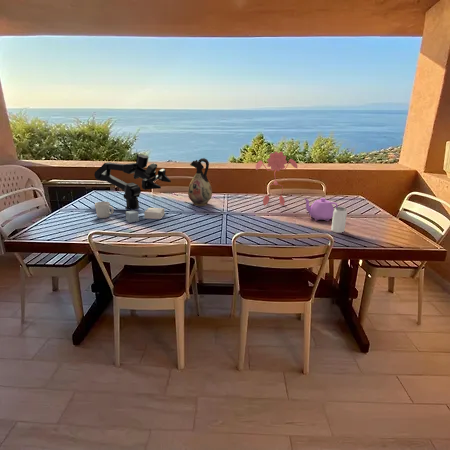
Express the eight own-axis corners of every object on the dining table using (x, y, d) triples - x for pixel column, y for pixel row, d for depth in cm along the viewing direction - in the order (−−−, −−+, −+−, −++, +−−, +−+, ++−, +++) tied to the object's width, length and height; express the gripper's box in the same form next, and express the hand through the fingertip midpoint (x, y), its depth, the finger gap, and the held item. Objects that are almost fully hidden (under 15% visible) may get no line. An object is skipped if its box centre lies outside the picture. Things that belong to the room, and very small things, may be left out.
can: (329, 229, 180) (331, 207, 177) (341, 229, 181) (344, 206, 177) (333, 233, 174) (336, 210, 171) (346, 233, 175) (349, 210, 171)
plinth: (144, 218, 193) (144, 211, 192) (149, 214, 201) (149, 207, 200) (160, 219, 192) (160, 212, 191) (164, 214, 201) (164, 208, 200)
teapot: (303, 221, 192) (305, 200, 189) (300, 214, 206) (302, 194, 202) (339, 223, 191) (342, 201, 187) (334, 216, 204) (337, 195, 200)
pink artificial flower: (253, 203, 230) (255, 149, 218) (292, 204, 229) (296, 150, 218) (254, 209, 215) (257, 152, 203) (296, 210, 215) (301, 153, 203)
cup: (118, 216, 195) (117, 202, 193) (109, 220, 188) (108, 206, 186) (102, 214, 198) (101, 200, 196) (92, 218, 191) (91, 204, 189)
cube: (138, 221, 188) (138, 212, 187) (130, 222, 185) (129, 213, 184) (134, 218, 192) (134, 210, 190) (126, 220, 189) (125, 211, 187)
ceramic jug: (183, 205, 220) (182, 158, 210) (194, 200, 233) (194, 155, 224) (208, 209, 214) (208, 160, 204) (217, 203, 227) (218, 157, 218)
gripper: (133, 167, 191) (156, 178, 186) (155, 156, 204) (176, 166, 200) (133, 185, 198) (155, 195, 193) (154, 173, 211) (175, 182, 206)
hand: (165, 184), depth 198 cm, fingers open, 9 cm apart
